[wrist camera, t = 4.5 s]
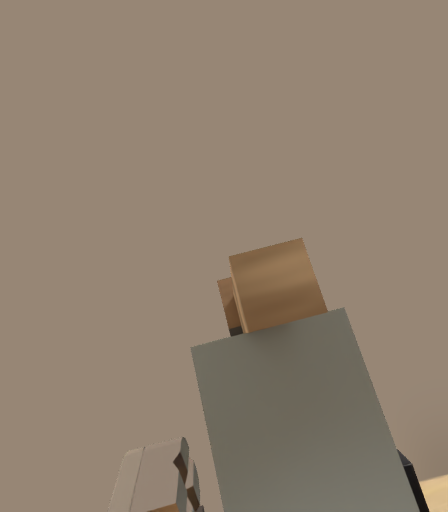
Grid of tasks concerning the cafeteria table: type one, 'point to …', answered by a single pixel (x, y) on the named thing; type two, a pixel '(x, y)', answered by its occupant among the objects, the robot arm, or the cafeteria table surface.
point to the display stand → (298, 422)
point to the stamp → (270, 288)
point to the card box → (200, 509)
